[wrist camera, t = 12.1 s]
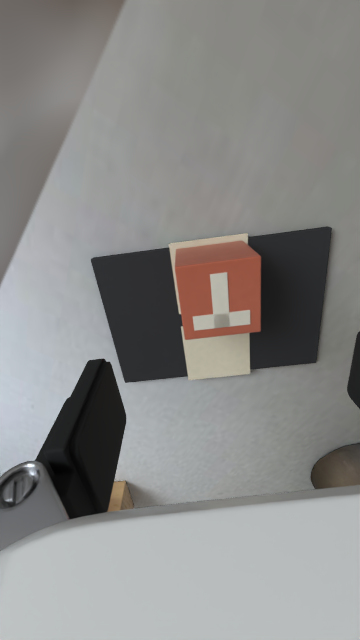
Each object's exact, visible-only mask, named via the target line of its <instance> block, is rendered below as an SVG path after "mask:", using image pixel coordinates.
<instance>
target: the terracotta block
mask: <svg viewBox="0 0 360 640" xmlns="http://www.w3.org/2000/svg"><path fill="white" fill-rule="evenodd" d="M175 274H176V281H177V288H178V295H179V302H180V309H181V316H182V323H183V330H184V337H185V340H190V339H199V338H208V337H217V336H226V335H235V334H244V333H253V332H260V331H261V256H260V255H259V254H258V253H257V252H255V251H254V250H253V249H252V248H251V247H250V246H248V245H247V244H246V243H245V242H244V241H242V240H241V241H234V242H226V243H218V244H211V245H203V246H196V247H188V248H180V249H176V254H175Z"/></svg>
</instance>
